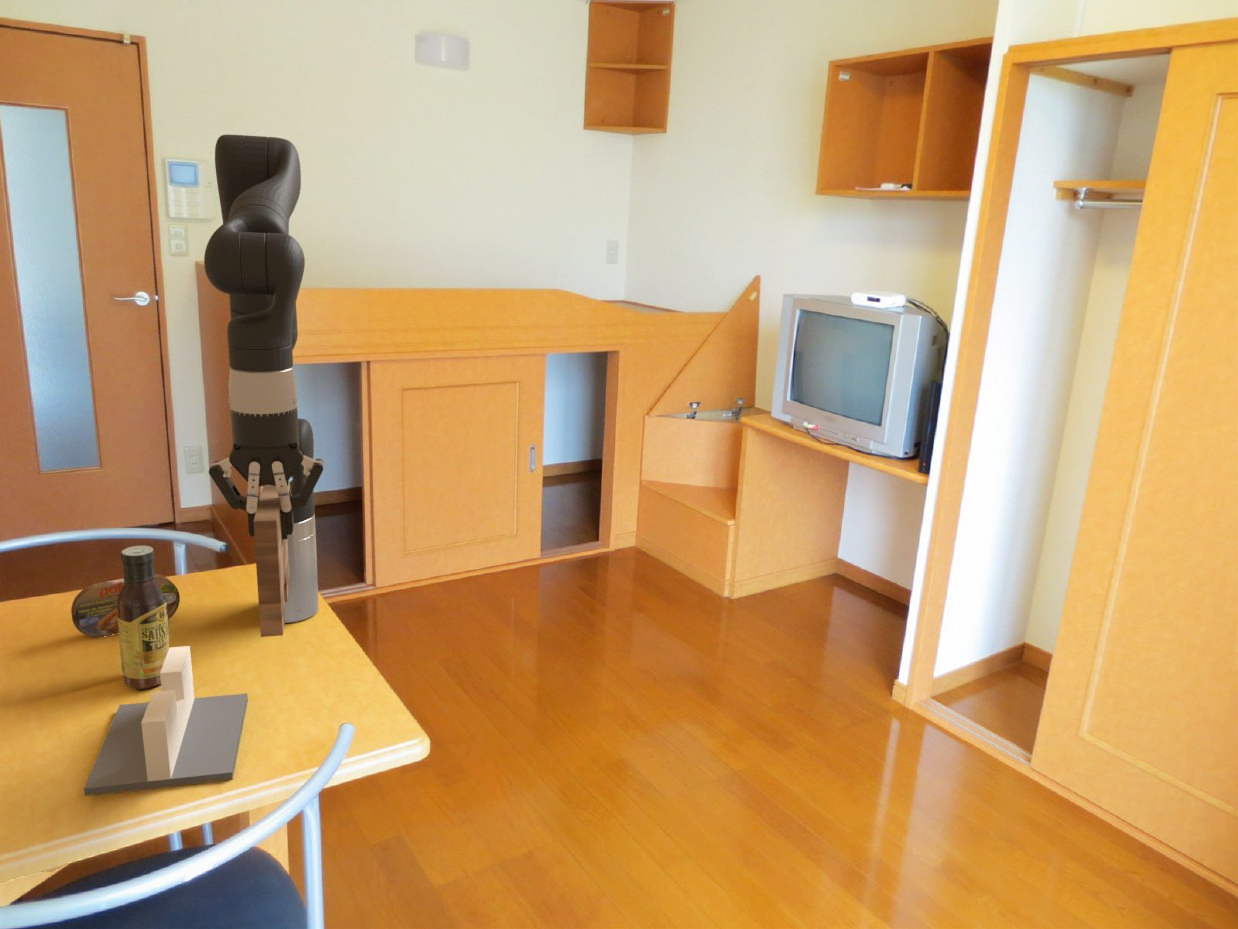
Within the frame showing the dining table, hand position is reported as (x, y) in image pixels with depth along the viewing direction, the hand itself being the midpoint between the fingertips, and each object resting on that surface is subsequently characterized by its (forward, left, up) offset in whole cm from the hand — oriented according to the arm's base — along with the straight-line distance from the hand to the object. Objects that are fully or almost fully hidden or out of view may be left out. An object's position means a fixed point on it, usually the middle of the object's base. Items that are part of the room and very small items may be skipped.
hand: (271, 537), depth 114 cm
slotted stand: (+2, -13, -27) cm, 30 cm away
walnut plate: (0, 0, -10) cm, 10 cm away
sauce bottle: (-15, -19, -27) cm, 36 cm away
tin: (-32, -25, -27) cm, 49 cm away
